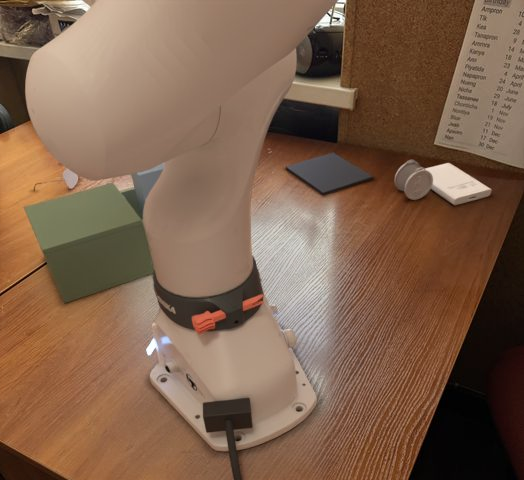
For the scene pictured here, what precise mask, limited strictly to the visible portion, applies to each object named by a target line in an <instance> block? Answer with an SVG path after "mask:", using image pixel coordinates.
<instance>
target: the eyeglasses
mask: <svg viewBox="0 0 524 480" xmlns="http://www.w3.org/2000/svg"><path fill="white" fill-rule="evenodd" d="M60 181H64V183H65V184H66V186H67V188H68V189H73V188H75V187H76V185H77V184H78V182H79V175H77V174H75V173H73V172H72V171H70V170H69V169H67V168H66V167H65V169H64V171H63V172H62V178H59V179H54V180H50V181H49V180H48V181H44V182H37V183H35V184H34V186H33V192H35V191H36V186H37V185H41V184H47V183H54V182H60Z"/></svg>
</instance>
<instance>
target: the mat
mask: <svg viewBox="0 0 524 480" xmlns="http://www.w3.org/2000/svg"><path fill="white" fill-rule="evenodd" d="M285 170H287V171H288V172H289V173H291V174H292V175H293V176H295V177H296V178H298V179H299V180H301V181H302V182H304V184H306V185H308V186H309V187H310V188H312V189H313V190H314V191H316V192H317V193H318V194H320V195H322V196H325V195H329V194H331V193H335V192H338V191H341V190H344V189H348V188H350V187H353V186H356V185H360V184H362V183H366V182H369V181H371V180H373V179H374V176H373V175H371V173H368V172H366V171H365V170H363V169H362V168H360V167H358V166H357V165H355V164H353V163H352V162H350V161H348V160H346V159H344V158H343V157H342V156H340V155H338V154H336V153H335V152H330V153H327V154H324V155H320V156H316V157H314V158H310V159H306V160H303V161H299V162H296V163H293V164H288V165H285Z"/></svg>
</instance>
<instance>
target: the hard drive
mask: <svg viewBox="0 0 524 480" xmlns="http://www.w3.org/2000/svg"><path fill="white" fill-rule="evenodd" d="M424 168H425V167H424ZM422 170H424V169H422ZM425 170H427V171H429V172H430V173H431V174H432V176H433V184H432V187H431V189H430V190H432V192H435V193H436V194H437V195H438V196H439V197H441V198H443V199H444V200H446V201H447V202H449V203H450V204H452V205H453V206H458V205H462V204H466V203H470V202H474V201H476V200H481V199H485V198H488V197H489V196H491V193H492V190H493V189H492V188H490V187H488V186H487V185H485V184H484V183H482V182H480V181H479V180H477V179H476V178H475V177H473V176H471V175H470V174H468V173H466V172H465V171H463V170H461V169H460V168H458V167H457V166H455V165H453V164H452V163H450V162H446V163H442V164H438V165H434V166H430V167H426V168H425Z"/></svg>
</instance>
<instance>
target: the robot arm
mask: <svg viewBox="0 0 524 480" xmlns="http://www.w3.org/2000/svg"><path fill="white" fill-rule="evenodd" d="M81 1H82V2H84V3H85V4H86V5H87V6H89V8H88V9H87V10H86V11H85V12H84V14H82V15H81V16H80V17H79V18H78V19H76V21H75V22H73V23H72V24H71V25H70V26H69V27H68V28H66V29H65V30H64V31H62V32H61V33H60V34H59V35H57V36H55V37H54V38H53V39H52V40H50V41H48V42H47V43H46V44H44V45H43V46H42V47H40V48H39V49H37V50H36V51H34V52H33V53H32V55H31V57H30V59H29V62H28V64H27V65H28V66H27V69H26V75H25V86H24V87H25V89H24V92H25V104H26V108H27V113H28V116H29V119H30V121H31V124H32V126H33V127H32V128H33V129H34V131H35V133H36V135H37V136H38V138H39V140H40V142H41V143H42V145H43V147H45V149H46V150H47V152H49V154H50V155H51V156H52V157H53V158H54V159H55V160H56V161H57V162H58V163H59V164H61V165H62V166H63V167H64V168H65V169H66V168H67V169H69V170H70V171H72V172H73V173H75V174H77V175H78V177H81V178H83V179H85V180H87V181H93V182H94V181H101V180H108V179H114V178H119V177H124V176H128V175H129V176H130V175H131V174H134V173H138V172H143V171H147V170H149V169H152V168H154V167H156V166H158V165H160V164H163V163H165V166H164V168H163V171H162V173H161V175H160V177H159V178H158V180H157V181H156V183H155V184H154V186H153V187H152V189H151V191H150V192H149V194H148V196H147V198H146V201H145V204H144V209H143V224H144V229H145V233H146V237H147V241H148V245H149V249H150V253H151V258H152V264H153V269H154V271H153V274H152V282H153V284H152V285H153V292H154V295H155V297H156V300H157V303H158V306H159V308H158V310H157V313H156V315H155V318H154V320H153V322H152V324H151V331H152V337H153V338H152V340H151V342H150V344H149V345H148V346H147V348H146V353H147V356H151V355H152V353H153V351H154V350H155V352H156V355H157V356H156V357H157V361H158V362H157V363H156V364H155V366H154V367H153V368H152V369H151V371H150V372H149V381H150V383H151V385H152V386H153V387H154V388H155V390H157V392H159V393H160V395H161V396H162V397H163V398H164V399H165V400H166V401H167V402H168V403H169V404H170V405H171V406H172V408H173V409H175V411H176V412H177V413H178V414H179V415H180V416H181V417H182V418H183V419H184V420H185V421H186V422H187V423H188V425H189V426H191V428H192V429H193V430H194V431H195V432H196V433H197V434H198V435H199V436H200V437H201V439H202V440H203V441H204V442H205V443H206V444H207V445H208V446H209V447H210V448H211V449H212V450H214V451H216V452H228V456H229V461H230V467H231V472H232V478H233V480H243V477H242V473H241V472H242V471H241V467H240V462H239V461H240V460H239V456H238V451H242V450H246V449H250V448H253V447H256V446H259V445H262V444H264V443H267V442H270V441H271V440H273V439H275V438H277V437H280V436H282V435H283V434H285V433H287V432H289V431H290V430H292V429H294V428H295V427H297V426H298V425H299V424H301V423H302V422H303V421H305V420H306V419H308V417H309V416H310V415H311V414H312V412H313V411H314V409H315V408H316V406H317V405H318V397H317V394H316V392H315V390H314V388H313V386H312V384H311V383H310V380H309V378H308V377H307V374H306V373H305V371H304V369H303V367H302V365H301V363H300V361H299V360H298V357H297V356H296V354H295V352H294V350H293V347H295V346H296V345H297V339H296V338H297V337H296V334H295V332H294V330H293V328H290V327H289V328H285V329H282V327H281V325H280V324H279V323H278V321H277V319H276V317H275V316H277V315H278V314H279V311H278V307H277V305H276V304H275V303H273V304H269V302H268V299H267V297H266V295H265V293H264V288H263V285H262V277H261V274H260V271H259V267H258V264H257V260H256V259H255V256H254V255H253V246H252V245H253V242H252V240H253V239H252V215H251V214H252V213H251V212H252V211H251V209H252V208H251V207H252V194H253V188H254V182H255V178H256V173H257V169H258V165H259V160H260V157H261V153H262V149H263V146H264V143H265V139H266V137H267V134H268V130H269V128H270V125H271V123H272V121H273V118H274V116H275V115H276V112H277V111H278V108H279V107H280V105H281V104H282V102H283V101H284V99H285V97H286V96H287V95H288V93H289V91H290V90H291V88H292V85H293V83H294V80H295V76H296V73H297V72H296V71H297V62H298V58H297V57H298V55H297V47H298V46H299V45H301V43H302V42H303V41H304V40H305V39H306V38H307V36H308V35H309V34H310V33H311V32H312V31H313V30H314V28H316V26H317V25H318V24H319V23H320V22H321V20H323V18H325V16H326V15H327V14H328V13H329V12H330V11H331V9H332V8H333V7H334V6H335V5H336V4H337V3H338V1H339V0H81ZM237 440H238V441H237Z"/></svg>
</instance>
